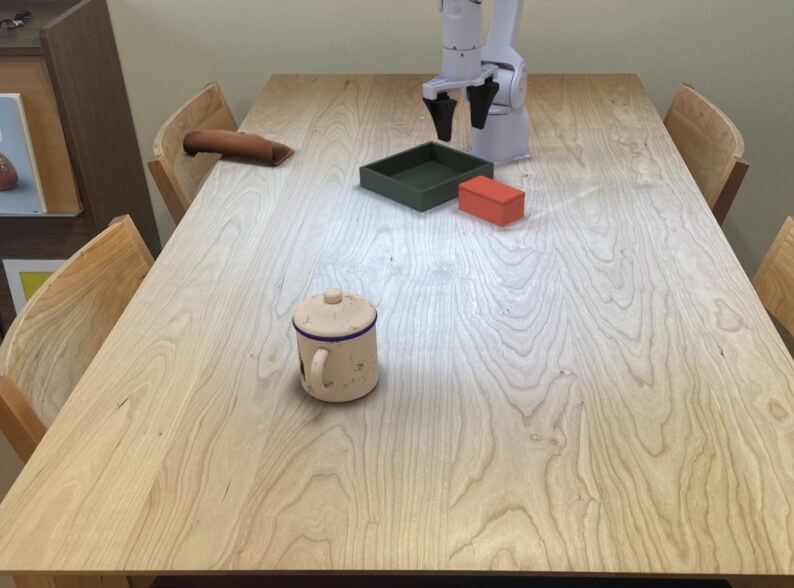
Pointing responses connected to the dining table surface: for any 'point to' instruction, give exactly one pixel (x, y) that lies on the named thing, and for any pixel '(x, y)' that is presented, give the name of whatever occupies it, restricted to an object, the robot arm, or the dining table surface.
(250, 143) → the sunglasses case
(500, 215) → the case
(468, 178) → the tote
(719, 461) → the dining table surface
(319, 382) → the teacup with lid
